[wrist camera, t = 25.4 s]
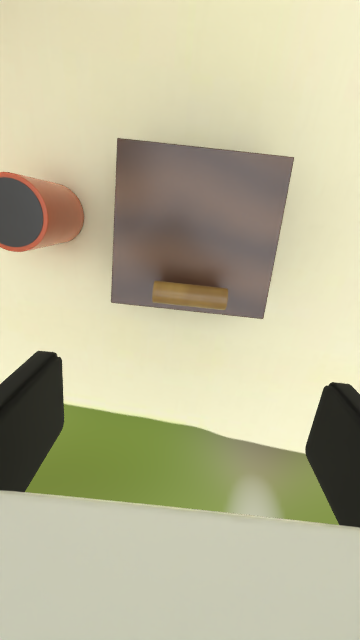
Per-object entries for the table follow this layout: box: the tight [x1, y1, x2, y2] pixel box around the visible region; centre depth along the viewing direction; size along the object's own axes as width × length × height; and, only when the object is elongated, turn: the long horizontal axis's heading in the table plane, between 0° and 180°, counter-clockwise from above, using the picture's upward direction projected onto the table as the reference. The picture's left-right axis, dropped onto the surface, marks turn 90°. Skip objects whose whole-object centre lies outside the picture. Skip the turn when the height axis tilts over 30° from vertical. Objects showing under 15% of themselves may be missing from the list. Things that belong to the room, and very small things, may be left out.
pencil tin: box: [0, 172, 84, 252], centre depth 29 cm, size 6×6×9 cm
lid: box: [111, 138, 294, 319], centre depth 24 cm, size 14×15×5 cm
